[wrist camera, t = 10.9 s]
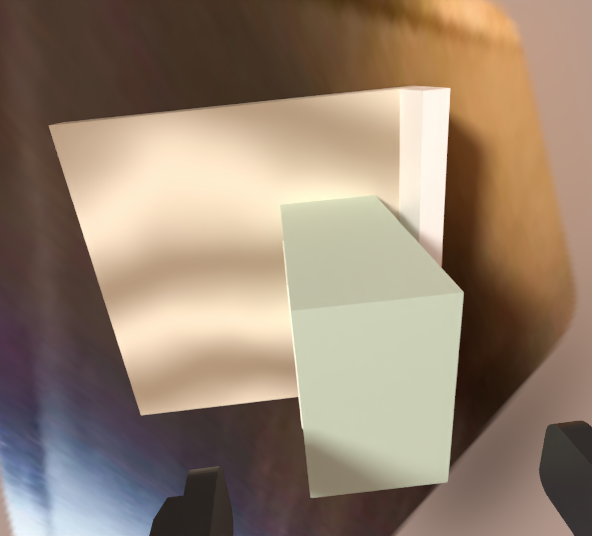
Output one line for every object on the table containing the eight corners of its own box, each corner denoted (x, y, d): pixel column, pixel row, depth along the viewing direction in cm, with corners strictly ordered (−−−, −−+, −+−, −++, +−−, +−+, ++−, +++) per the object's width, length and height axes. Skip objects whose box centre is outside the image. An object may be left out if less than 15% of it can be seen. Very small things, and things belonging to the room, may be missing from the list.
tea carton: (376, 194, 20) (465, 291, 11) (377, 321, 23) (449, 481, 14) (278, 204, 20) (288, 310, 11) (292, 330, 23) (308, 498, 14)
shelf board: (412, 366, 26) (439, 420, 22) (147, 397, 26) (125, 457, 22) (418, 84, 20) (458, 86, 16) (64, 122, 19) (9, 134, 15)
